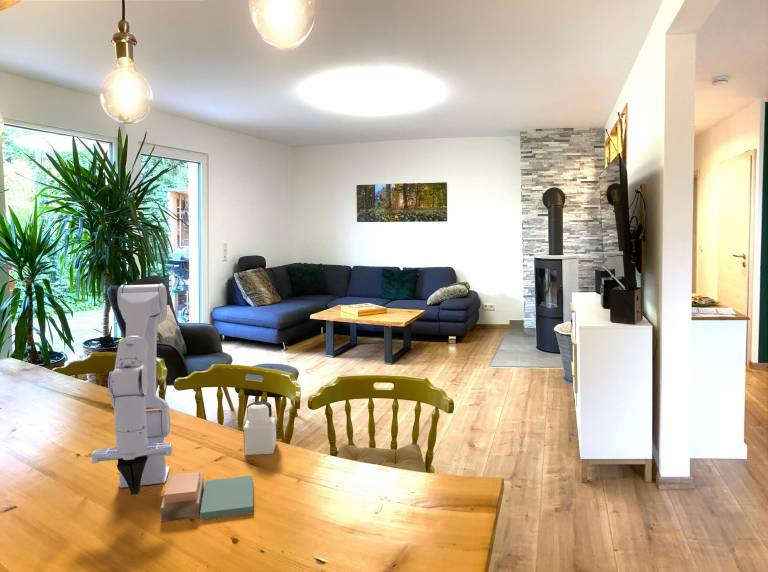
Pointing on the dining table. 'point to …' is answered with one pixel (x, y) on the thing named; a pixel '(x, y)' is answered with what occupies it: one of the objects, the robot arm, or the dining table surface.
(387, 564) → the dining table surface
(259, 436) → the medicine bottle
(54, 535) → the dining table surface
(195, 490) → the terracotta tile
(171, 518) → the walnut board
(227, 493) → the teal rectangular slab
